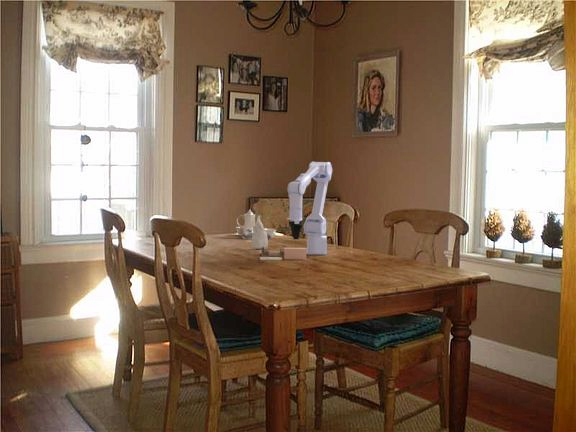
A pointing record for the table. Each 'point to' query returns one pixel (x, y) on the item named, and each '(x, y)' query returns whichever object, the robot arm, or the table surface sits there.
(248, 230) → the chinaware
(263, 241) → the stone tool
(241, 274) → the table surface
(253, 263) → the table surface
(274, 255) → the rack
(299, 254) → the salmon pink block
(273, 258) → the fired strip
